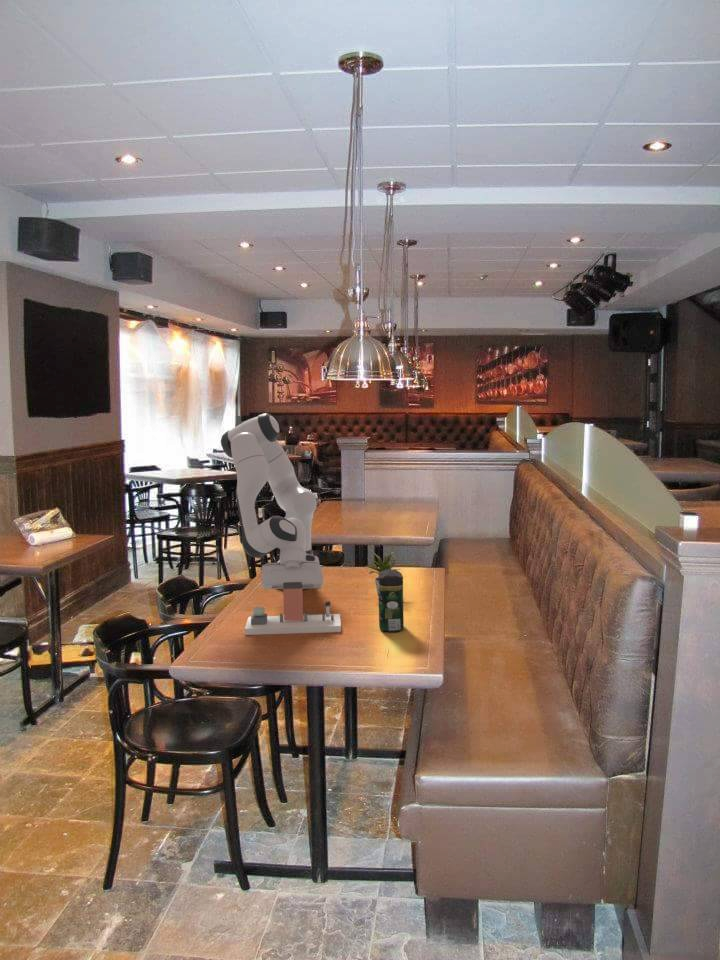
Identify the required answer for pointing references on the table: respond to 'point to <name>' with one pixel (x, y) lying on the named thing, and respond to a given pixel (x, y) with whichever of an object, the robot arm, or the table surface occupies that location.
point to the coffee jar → (390, 600)
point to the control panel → (292, 624)
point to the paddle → (293, 600)
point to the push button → (258, 611)
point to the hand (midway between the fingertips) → (292, 599)
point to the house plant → (382, 566)
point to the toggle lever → (327, 608)
